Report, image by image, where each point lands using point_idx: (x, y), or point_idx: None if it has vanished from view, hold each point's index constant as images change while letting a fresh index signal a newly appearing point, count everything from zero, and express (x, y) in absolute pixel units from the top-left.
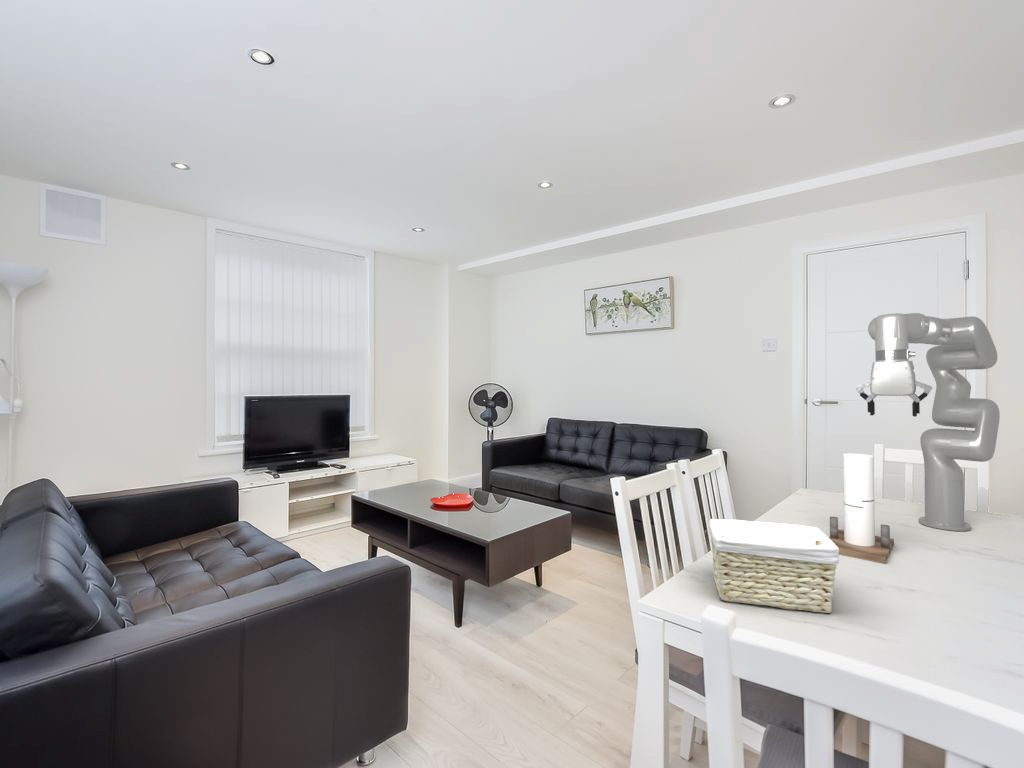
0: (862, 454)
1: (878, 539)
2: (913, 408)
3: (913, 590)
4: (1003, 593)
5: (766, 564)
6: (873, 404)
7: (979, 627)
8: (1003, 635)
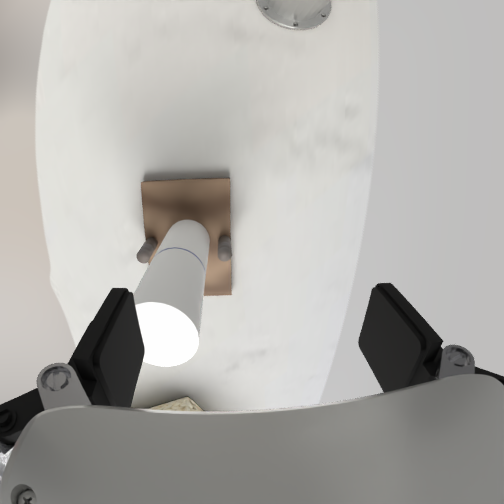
0: (162, 315)
1: (209, 201)
2: (380, 380)
3: (264, 352)
4: (340, 303)
5: None
6: (122, 392)
7: (306, 386)
8: (318, 387)
